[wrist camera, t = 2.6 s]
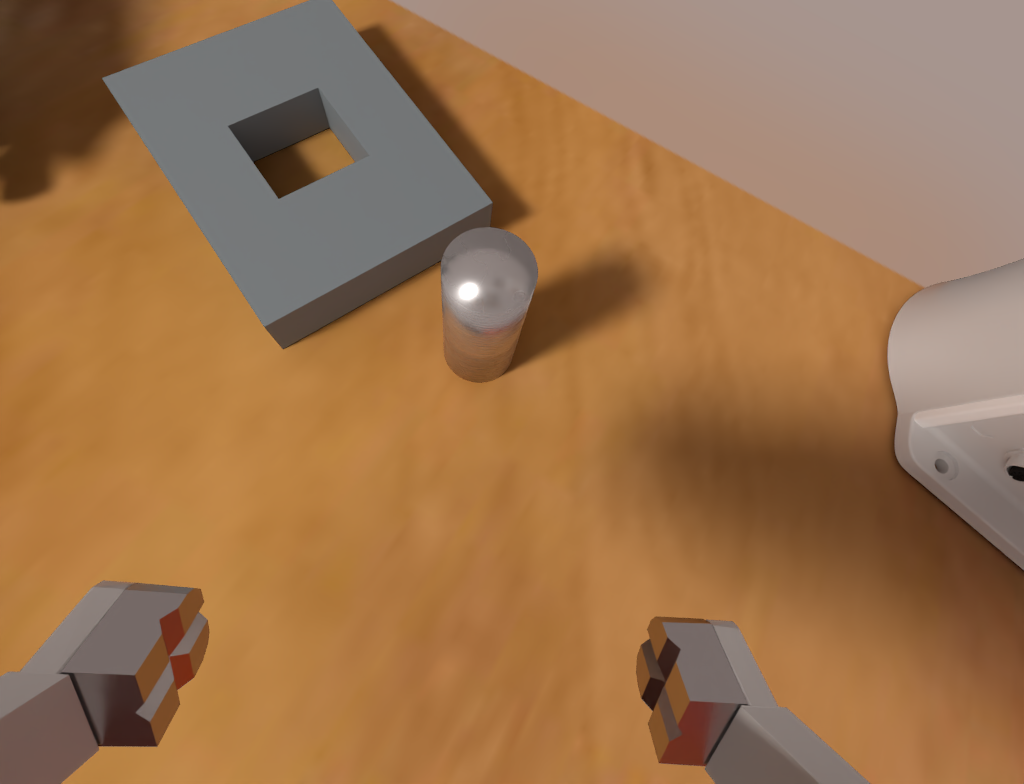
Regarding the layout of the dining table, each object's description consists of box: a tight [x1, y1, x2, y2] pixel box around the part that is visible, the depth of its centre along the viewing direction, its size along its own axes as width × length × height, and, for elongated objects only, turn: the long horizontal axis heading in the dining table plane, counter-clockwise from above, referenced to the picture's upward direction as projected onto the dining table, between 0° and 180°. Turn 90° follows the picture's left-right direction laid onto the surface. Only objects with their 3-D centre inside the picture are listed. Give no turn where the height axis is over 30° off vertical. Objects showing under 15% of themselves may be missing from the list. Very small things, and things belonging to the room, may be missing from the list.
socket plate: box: [102, 0, 493, 349], centre depth 30 cm, size 18×14×3 cm
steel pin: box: [441, 227, 538, 383], centre depth 25 cm, size 4×4×9 cm
